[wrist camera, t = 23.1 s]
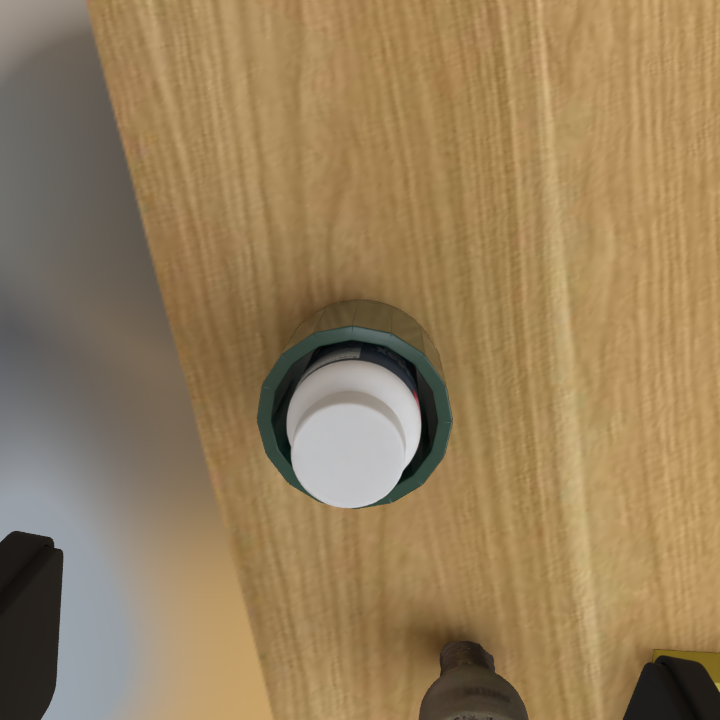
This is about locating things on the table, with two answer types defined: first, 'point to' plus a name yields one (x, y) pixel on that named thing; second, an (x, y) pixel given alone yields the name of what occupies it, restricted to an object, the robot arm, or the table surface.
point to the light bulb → (470, 688)
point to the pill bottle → (353, 423)
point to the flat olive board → (713, 662)
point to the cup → (375, 328)
